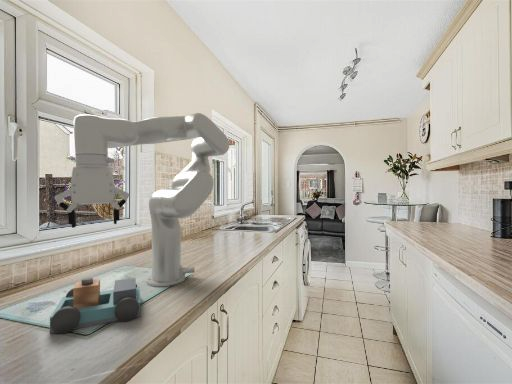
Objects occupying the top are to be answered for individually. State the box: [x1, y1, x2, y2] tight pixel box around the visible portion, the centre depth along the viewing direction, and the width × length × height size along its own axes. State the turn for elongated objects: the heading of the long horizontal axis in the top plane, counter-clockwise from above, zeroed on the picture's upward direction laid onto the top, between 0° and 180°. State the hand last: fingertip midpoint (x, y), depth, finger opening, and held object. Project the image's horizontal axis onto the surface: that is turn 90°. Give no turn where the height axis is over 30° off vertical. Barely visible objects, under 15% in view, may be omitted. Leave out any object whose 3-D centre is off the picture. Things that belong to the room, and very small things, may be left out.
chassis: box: [49, 277, 142, 335], centre depth 66 cm, size 18×15×6 cm
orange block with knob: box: [72, 277, 101, 309], centre depth 65 cm, size 5×5×8 cm
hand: (95, 225), depth 72 cm, fingers open, 9 cm apart
